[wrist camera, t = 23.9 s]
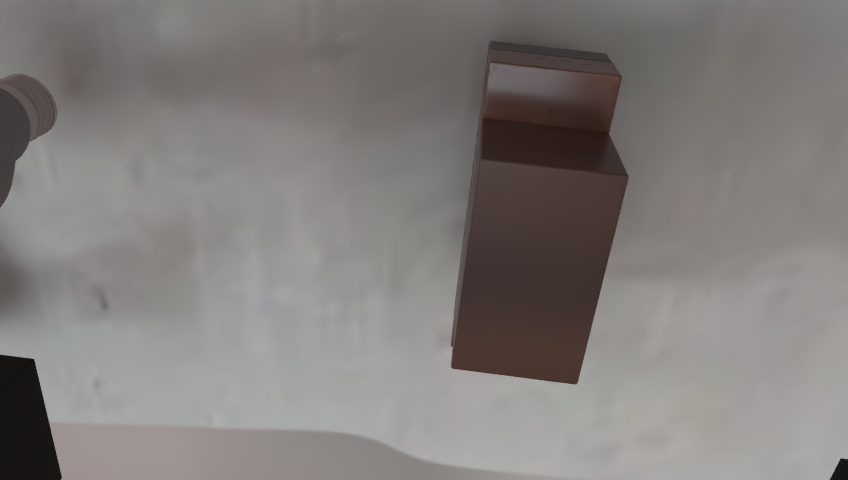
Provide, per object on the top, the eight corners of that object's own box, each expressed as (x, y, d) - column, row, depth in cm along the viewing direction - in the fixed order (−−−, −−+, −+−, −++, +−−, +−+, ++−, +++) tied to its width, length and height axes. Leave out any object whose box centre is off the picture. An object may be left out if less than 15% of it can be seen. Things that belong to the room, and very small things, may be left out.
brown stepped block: (489, 40, 26) (488, 92, 20) (607, 53, 26) (645, 111, 20) (454, 302, 32) (444, 412, 25) (551, 314, 32) (566, 428, 25)
